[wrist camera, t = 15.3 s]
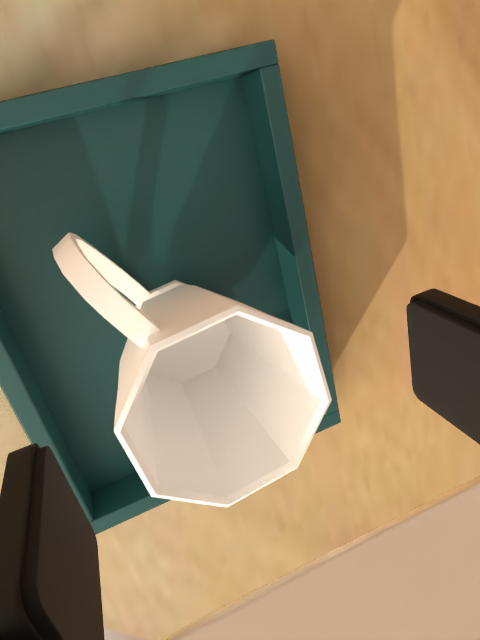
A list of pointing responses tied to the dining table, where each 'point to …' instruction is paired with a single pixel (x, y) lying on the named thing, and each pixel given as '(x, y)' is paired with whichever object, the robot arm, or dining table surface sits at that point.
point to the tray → (142, 238)
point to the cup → (202, 383)
